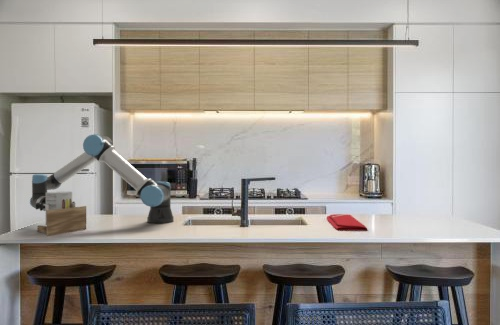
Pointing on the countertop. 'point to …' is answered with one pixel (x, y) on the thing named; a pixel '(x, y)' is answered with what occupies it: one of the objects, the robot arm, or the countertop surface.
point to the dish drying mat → (345, 223)
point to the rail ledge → (64, 220)
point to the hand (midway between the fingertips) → (61, 206)
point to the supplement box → (58, 200)
